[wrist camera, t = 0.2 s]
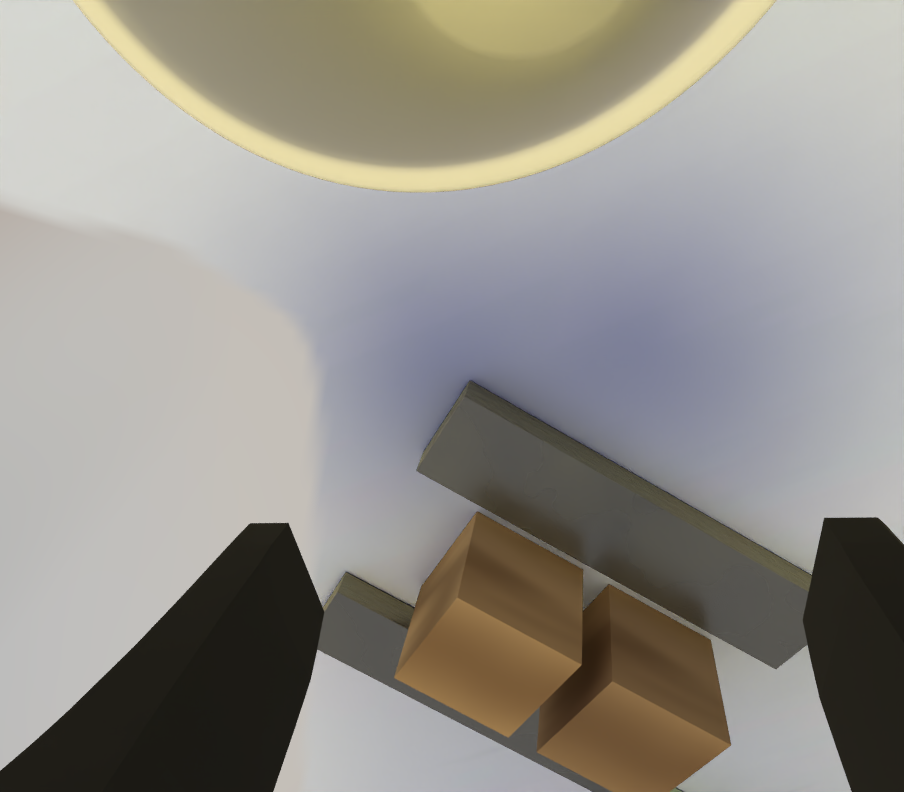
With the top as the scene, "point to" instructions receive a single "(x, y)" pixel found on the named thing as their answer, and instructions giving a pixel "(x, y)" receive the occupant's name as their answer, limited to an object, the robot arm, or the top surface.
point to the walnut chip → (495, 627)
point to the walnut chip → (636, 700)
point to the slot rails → (579, 550)
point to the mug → (422, 77)
